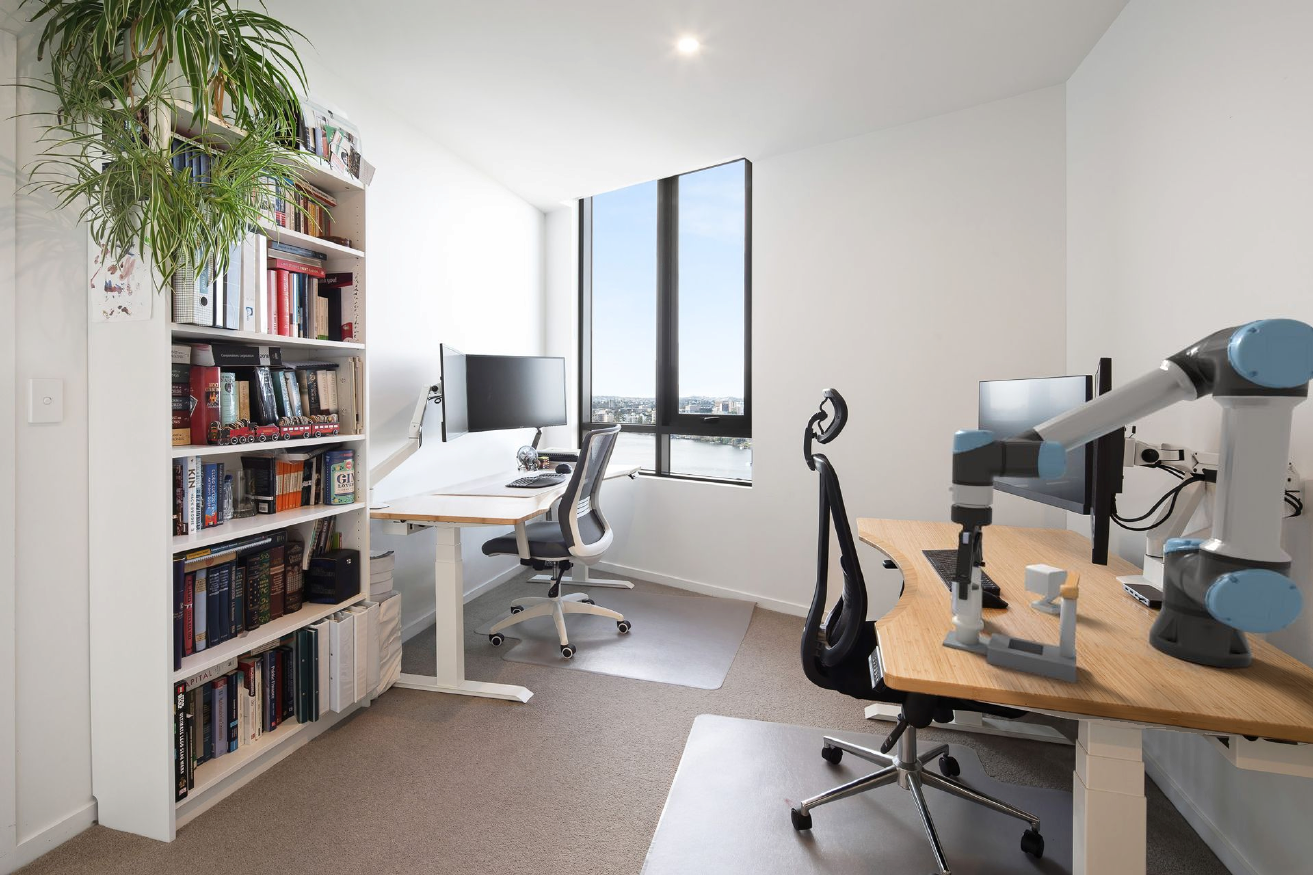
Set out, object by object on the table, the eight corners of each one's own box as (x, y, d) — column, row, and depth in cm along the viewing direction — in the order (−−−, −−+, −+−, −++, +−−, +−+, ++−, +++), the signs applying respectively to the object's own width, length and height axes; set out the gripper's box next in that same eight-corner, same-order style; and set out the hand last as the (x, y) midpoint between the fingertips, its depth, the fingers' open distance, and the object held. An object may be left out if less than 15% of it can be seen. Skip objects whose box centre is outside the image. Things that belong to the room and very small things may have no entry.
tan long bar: (1077, 608, 106) (1078, 590, 106) (1059, 605, 108) (1059, 587, 108) (1082, 589, 117) (1082, 572, 117) (1065, 586, 119) (1066, 569, 119)
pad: (991, 641, 122) (991, 638, 122) (986, 654, 116) (986, 652, 116) (949, 632, 127) (949, 630, 127) (942, 645, 120) (942, 642, 120)
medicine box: (982, 625, 131) (983, 587, 131) (960, 623, 132) (962, 586, 132) (970, 612, 139) (971, 577, 139) (950, 611, 140) (951, 576, 140)
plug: (984, 639, 122) (986, 583, 121) (981, 648, 117) (983, 590, 117) (954, 632, 125) (956, 578, 125) (949, 641, 121) (951, 585, 120)
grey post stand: (1075, 665, 111) (1078, 593, 110) (1075, 683, 104) (1078, 607, 103) (992, 647, 120) (994, 580, 119) (986, 662, 112) (989, 592, 111)
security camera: (1042, 602, 147) (1043, 563, 146) (1069, 611, 140) (1071, 571, 139) (1023, 605, 145) (1025, 565, 144) (1050, 614, 138) (1052, 573, 137)
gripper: (961, 495, 132) (958, 586, 133) (940, 511, 112) (937, 618, 113) (999, 498, 127) (995, 592, 129) (984, 516, 107) (980, 627, 109)
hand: (968, 605), depth 121 cm, fingers open, 13 cm apart
